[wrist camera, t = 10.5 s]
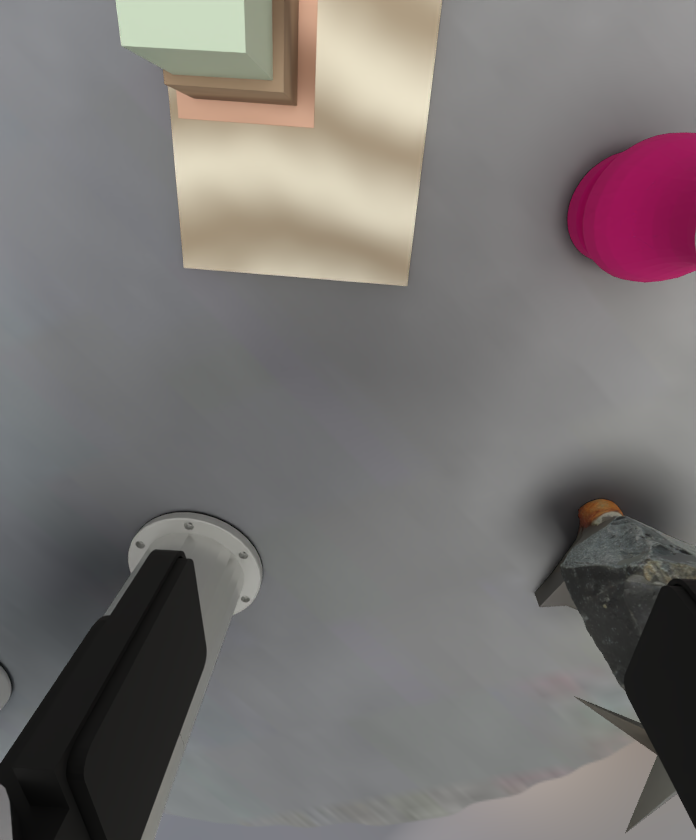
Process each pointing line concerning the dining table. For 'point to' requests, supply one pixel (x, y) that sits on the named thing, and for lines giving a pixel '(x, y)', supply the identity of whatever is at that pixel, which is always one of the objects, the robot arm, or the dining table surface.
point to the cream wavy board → (315, 152)
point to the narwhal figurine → (619, 604)
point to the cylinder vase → (4, 688)
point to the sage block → (201, 36)
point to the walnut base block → (255, 90)
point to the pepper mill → (640, 210)
